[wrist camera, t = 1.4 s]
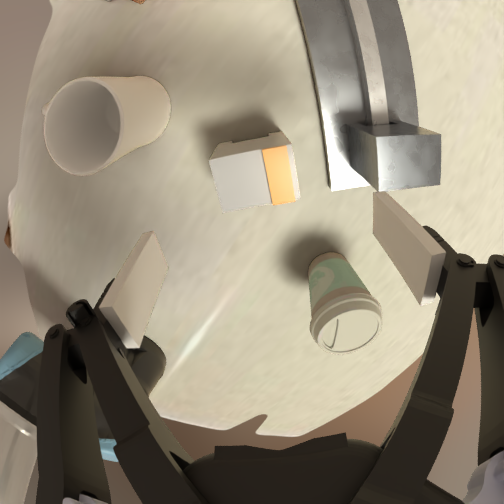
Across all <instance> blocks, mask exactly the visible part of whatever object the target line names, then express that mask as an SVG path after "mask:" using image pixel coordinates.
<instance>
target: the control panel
mask: <svg viewBox="0 0 504 504" xmlns="http://www.w3.org/2000/svg"><path fill="white" fill-rule="evenodd" d="M106 1H112V0H106ZM132 1H134V2H137V3H139V4H143V3H144V1H145V0H132Z"/></svg>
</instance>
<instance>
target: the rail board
mask: <svg viewBox="0 0 504 504" xmlns="http://www.w3.org/2000/svg"><path fill="white" fill-rule="evenodd" d="M295 2H296V6H297V9H298V13H299V17H300V21H301V25H302V28H303V33H304V37H305V41H306V45H307V50H308V54H309V59H310V63H311V68H312V73H313V78H314V83H315V89H316V94H317V100H318V106H319V112H320V118H321V124H322V131H323V138H324V145H325V153H326V161H327V169H328V178H329V187H330V189H331V190H332V191H334V190H340V189H347V188H354V187H361V186H369V185H371V186H372V187H374V188H375V189H376V190H377V191H378V192H381V191H385V192H386V191H393V190H401V189H409V188H417V187H425V186H434V185H440V176H441V134H439V133H436V132H433V131H430V130H427V129H424V128H421V127H419V122H418V109H417V98H416V89H415V81H414V74H413V68H412V62H411V56H410V50H409V45H408V40H407V36H406V31H405V27H404V23H403V19H402V15H401V12H400V8H399V4H398V1H397V0H295Z"/></svg>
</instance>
